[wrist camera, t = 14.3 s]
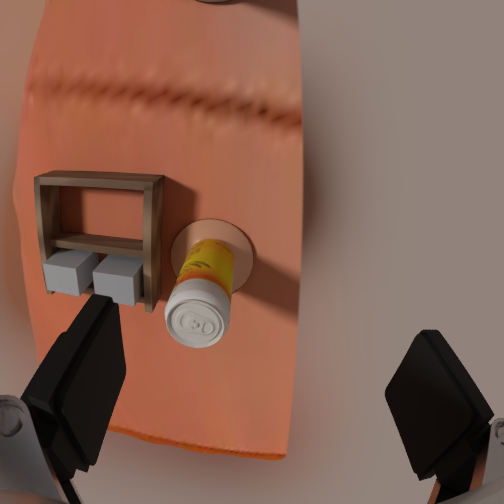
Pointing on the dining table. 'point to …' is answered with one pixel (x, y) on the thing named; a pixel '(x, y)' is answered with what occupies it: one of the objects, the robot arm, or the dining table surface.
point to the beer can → (202, 295)
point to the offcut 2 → (120, 278)
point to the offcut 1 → (70, 270)
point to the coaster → (219, 232)
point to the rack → (56, 238)
